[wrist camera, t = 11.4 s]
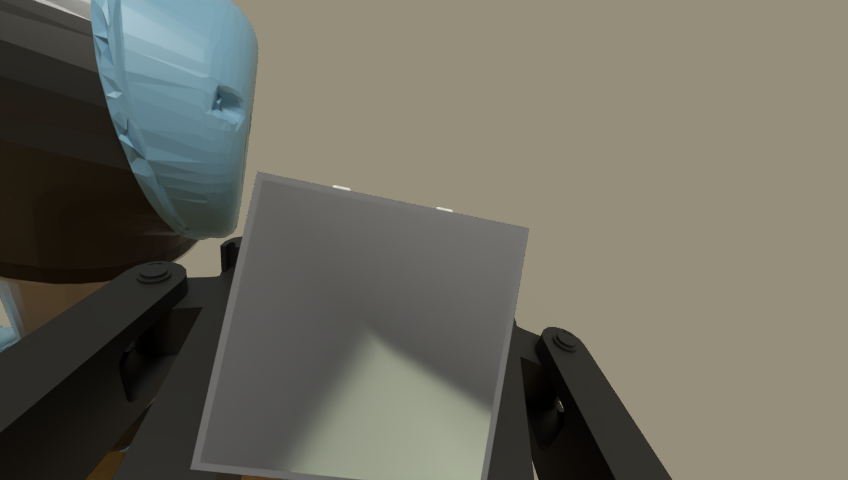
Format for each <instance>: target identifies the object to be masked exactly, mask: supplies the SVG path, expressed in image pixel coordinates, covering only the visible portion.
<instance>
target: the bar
mask: <svg viewBox="0 0 848 480" xmlns="http://www.w3.org/2000/svg"><path fill="white" fill-rule="evenodd" d="M528 232H529V228H525V227H521V226H516V225H511V224H506V223H501V222H496V221H492V220H487V219H482V218H478V217H473V216H468V215H463V214H458V213H453V212H449V211H444V210H439V209H435V208H430V207H424V206H420V205H415V204H411V203H406V202H401V201H396V200H392V199H387V198H382V197H377V196H372V195H367V194H363V193H358V192H353V191H348V190H344V189H339V188H334V187H329V186H324V185H320V184H315V183H310V182H305V181H301V180H296V179H291V178H286V177H281V176H277V175H272V174H267V173H262V172H257V175H256V179H255V183H254V188H253V192H252V197H251V201H250V206H249V210H248V215H247V219H246V224H245V228H244V232H243V237H242V241H241V246H240V250H239V255H238V259H237V263H236V268H235V272H234V277H233V281H232V286H231V290H230V295H229V299H228V304H227V308H226V312H225V317H224V321H223V326H222V330H221V335H220V339H219V344H218V348H217V352H216V357H215V361H214V366H213V370H212V375H211V379H210V384H209V388H208V393H207V397H206V401H205V406H204V410H203V415H202V419H201V424H200V428H199V433H198V437H197V442H196V446H195V450H194V455H193V459H192V464H191V468H190V469H192V470H202V471H212V472H221V473H231V474H241V475H251V476H260V477H270V478H280V479H289V480H487V476H488V470H489V465H490V459H491V453H492V447H493V441H494V435H495V429H496V423H497V417H498V411H499V405H500V399H501V393H502V387H503V381H504V375H505V369H506V363H507V357H508V351H509V346H510V340H511V334H512V328H513V322H514V316H515V310H516V304H517V298H518V292H519V286H520V280H521V274H522V268H523V262H524V256H525V250H526V244H527V238H528Z"/></svg>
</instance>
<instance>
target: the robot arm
mask: <svg viewBox="0 0 848 480" xmlns="http://www.w3.org/2000/svg"><path fill="white" fill-rule="evenodd" d="M257 62H258V44H257V38H256V35H255V32H254V29H253V27H252V25H251V23H250V22H249V20H248V18H247V17H246V16H245V14H244V13H243V12H242V11H241V10H240V8H239V7H238V6H237V5H236V4H234V3H233V2H232V1H231V0H0V299H1V301H2V303H3V306H4V308H5V311H6V313H7V316H8V318H9V320H10V323H11V325H12V327H3V326H0V480H85V479H86V478H87V477H88V475H89V474H90V473H91V472H92V471H93V470H94V468H95V467H96V466H97V465H98V464H99V462H100V461H101V460H102V459H103V458H104V457H105V455H106V454H107V453H108V452H115V451H116V452H118V451H119V452H126V451H127V452H126V454H125V456H124V458H123V460H122V462H121V463H120V465H119V467H118V469H117V471H116V473H115V475H114V477H113V479H112V480H241V476H242V475H241V474H231V473H221V472H212V471H202V470H192V469H190V468H191V464H192V459H193V455H194V450H195V446H196V442H197V437H198V433H199V428H200V424H201V419H202V415H203V410H204V406H205V401H206V397H207V393H208V388H209V384H210V379H211V375H212V370H213V366H214V361H215V357H216V352H217V348H218V344H219V339H220V335H221V330H222V326H223V321H224V317H225V312H226V308H227V304H228V299H229V295H230V290H231V286H232V281H233V277H234V272H235V268H236V263H237V259H238V255H239V250H240V246H241V241H242V237H243V236H242V237H236V238H232V239H230V240H227V241H225V242H224V243H223V244H222V245H221V246H220V247H221V266H222V267H221V268H222V272H221V274H220V276H217V277H198V278H197V277H196V278H187V275H186V269H185V268H184V267H183V266H182V265H180V264H176V263H174V262H176V261H177V260H179V259H180V258H182V257H183V256H185V255H186V254H187V253H188V252H189V251H191V250H192V249H193V248H194V247H195V246H196V244H197V243H198V242H199V241H200V240H204V239H207V238H224V237H227V236H228V235H230V234H232V233H233V232H234V230H235V229H236V227H237V223H238V218H239V211H240V205H241V198H242V191H243V183H244V176H245V167H246V158H247V151H248V141H249V134H250V127H251V118H252V110H253V101H254V92H255V83H256V72H257ZM333 187H334V188H339V189H344V190H348V191H350V188H346V187H340V186H336V185H334V186H333ZM436 209H439V210H444V211H449V212H453V211H452V210H450V209H446V208H441V207H436ZM559 401H561V403H562V406H563V408H562V406H561V404H560V402H559ZM563 409H564V410H563ZM532 461H533V464H534V467H535V470H536V473H537V476H538V479H539V480H672V479H671V477H670V476H669V474H668V472H667V471H666V469H665V468H664V466H663V465H662V463H661V462H660V460H659V459H658V457H657V456H656V454H655V452H654V451H653V449H652V448H651V446H650V445H649V443H648V442H647V441H646V439H645V437H644V436H643V434H642V433H641V431H640V429H639V428H638V426H637V425H636V424H635V422H634V420H633V419H632V417H631V416H630V414H629V413H628V411H627V410H626V408H625V407H624V405H623V403H622V402H621V400H620V399H619V397H618V396H617V394H616V393H615V391H614V390H613V388H612V387H611V385H610V384H609V382H608V380H607V379H606V377H605V376H604V374H603V373H602V371H601V370H600V368H599V367H598V365H597V364H596V362H595V360H594V359H593V357H592V356H591V354H590V353H589V351H588V350H587V348H586V347H585V345H584V344H583V343H582V342H581V341H580V339H578V338H577V337H576V336H574V335H573V334H572V333H570V332H568V331H566V330H564V329H560V328H556V327H548V328H546V329H544V330H543V332H542V334H541V336H539V335H536V334H534V333H531V332H529V331H526V330H524V329H522V328H520V327H518V326H516V321H515V318H514V322H513V328H512V334H511V340H510V346H509V351H508V357H507V363H506V369H505V375H504V381H503V387H502V393H501V399H500V405H499V411H498V417H497V423H496V429H495V435H494V441H493V447H492V453H491V459H490V465H489V470H488V476H487V480H534V474H533V465H532Z"/></svg>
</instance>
